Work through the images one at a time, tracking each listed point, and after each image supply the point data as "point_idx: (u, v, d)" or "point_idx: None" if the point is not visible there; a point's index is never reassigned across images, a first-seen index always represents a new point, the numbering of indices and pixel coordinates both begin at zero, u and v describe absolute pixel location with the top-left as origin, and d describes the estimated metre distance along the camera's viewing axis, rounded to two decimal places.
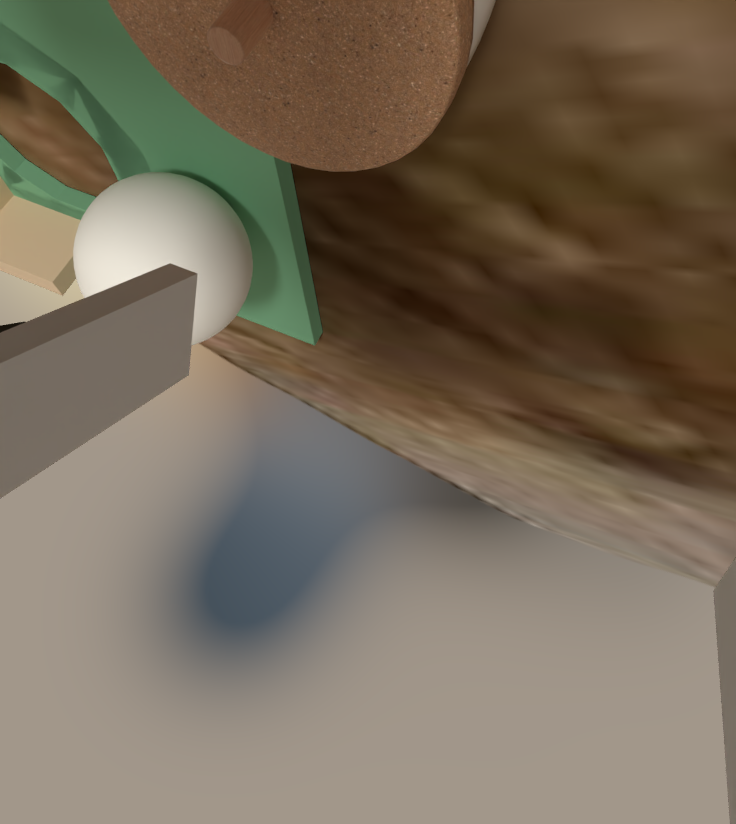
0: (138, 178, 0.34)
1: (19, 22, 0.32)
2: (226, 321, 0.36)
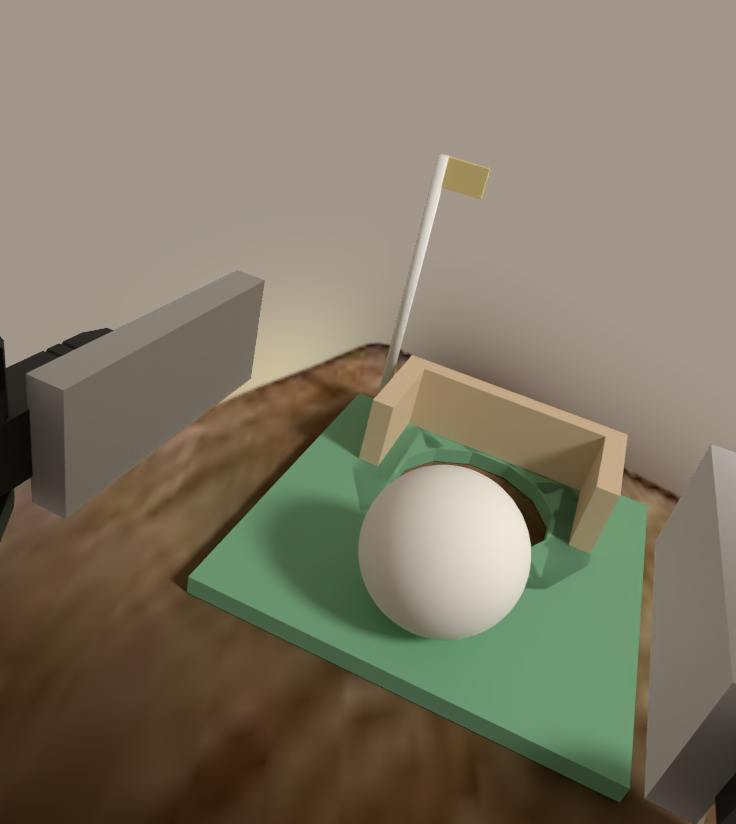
0: None
1: (585, 583, 0.44)
2: (401, 570, 0.33)
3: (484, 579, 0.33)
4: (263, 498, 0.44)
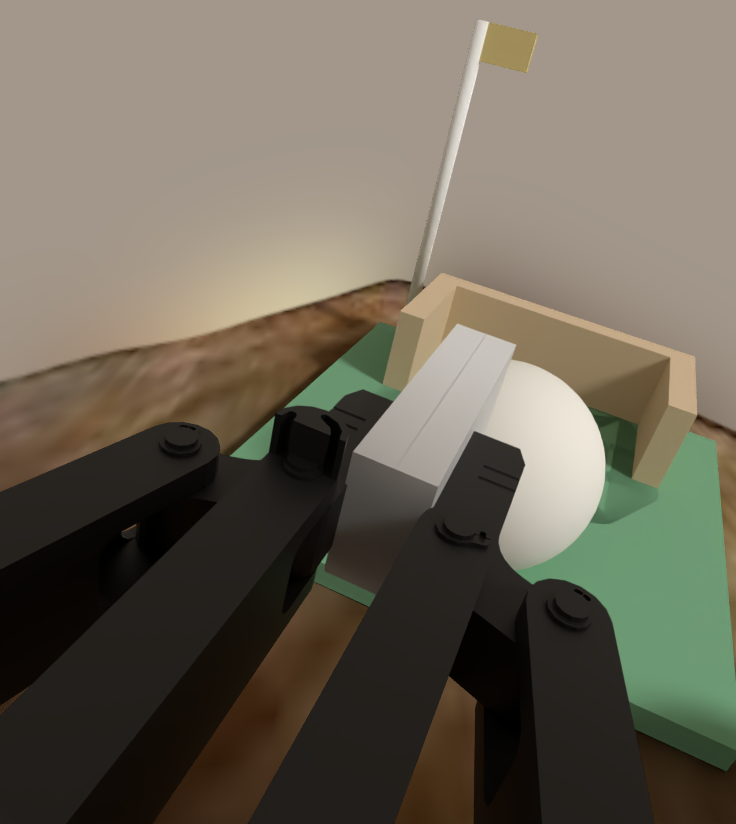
0: None
1: (656, 519, 0.37)
2: None
3: (553, 487, 0.26)
4: (272, 420, 0.37)
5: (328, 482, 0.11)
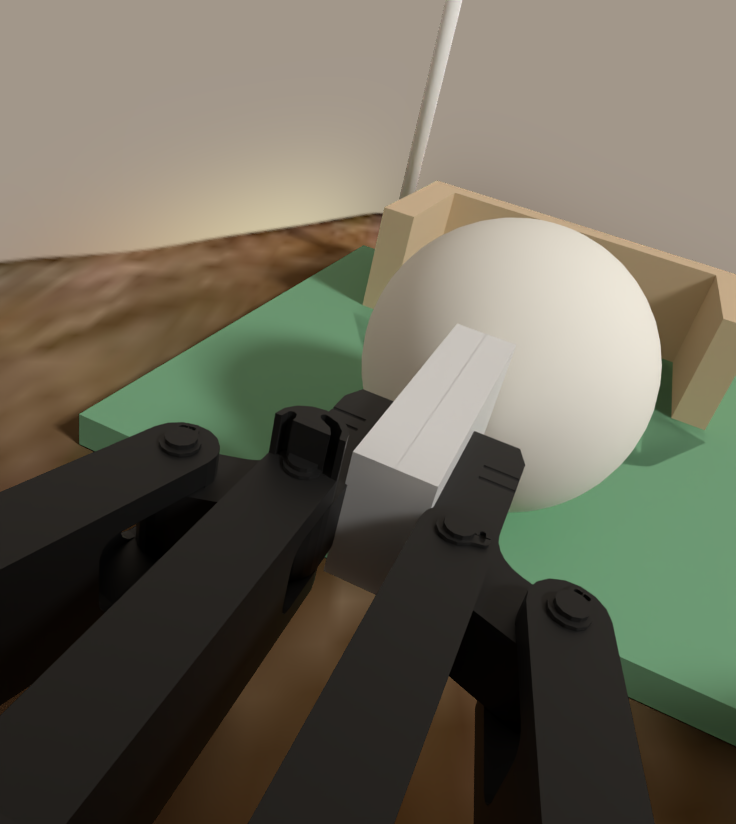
0: None
1: (706, 463, 0.29)
2: None
3: (594, 377, 0.18)
4: (218, 333, 0.29)
5: (328, 482, 0.11)
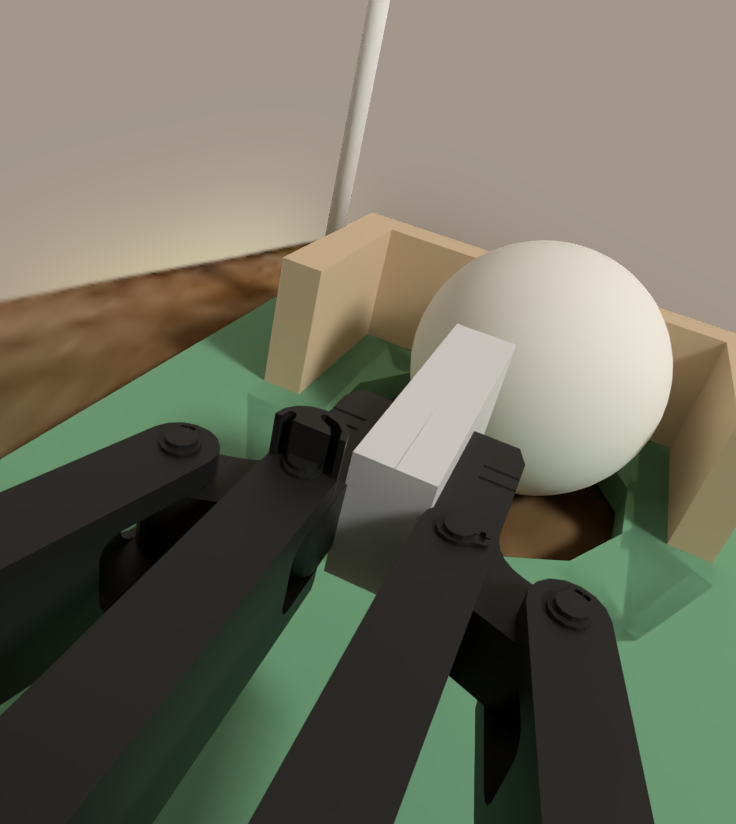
0: (638, 452, 0.24)
1: (716, 626, 0.20)
2: None
3: None
4: (36, 441, 0.21)
5: (328, 482, 0.11)
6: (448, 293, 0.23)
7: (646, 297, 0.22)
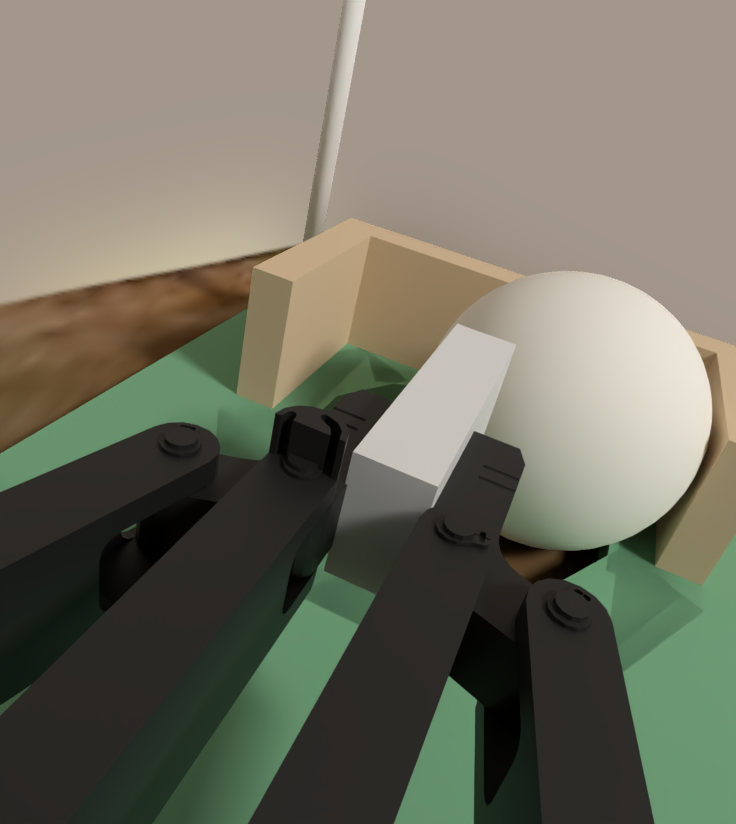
0: None
1: (705, 656, 0.19)
2: None
3: None
4: None
5: (328, 482, 0.11)
6: (495, 327, 0.20)
7: (705, 394, 0.20)
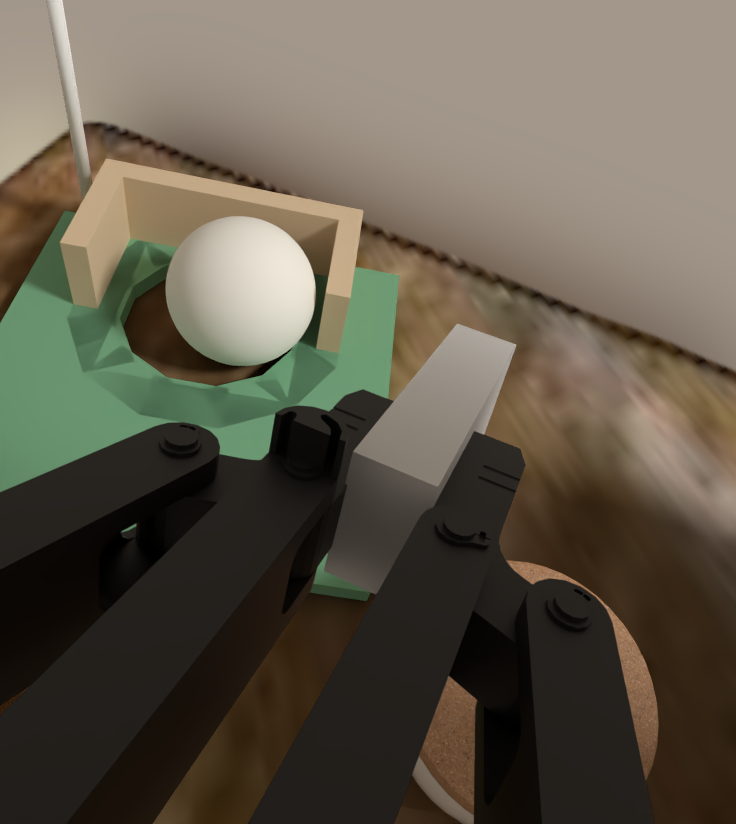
0: None
1: (333, 389, 0.44)
2: None
3: None
4: None
5: (328, 482, 0.11)
6: (183, 289, 0.39)
7: (295, 286, 0.40)
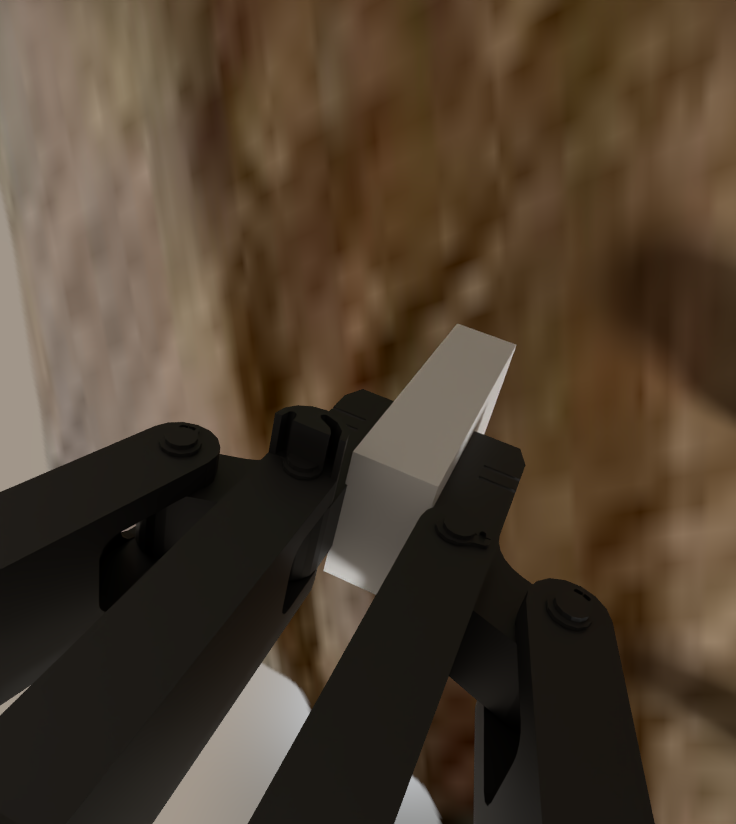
0: None
1: None
2: None
3: None
4: None
5: (328, 482, 0.11)
6: None
7: None
